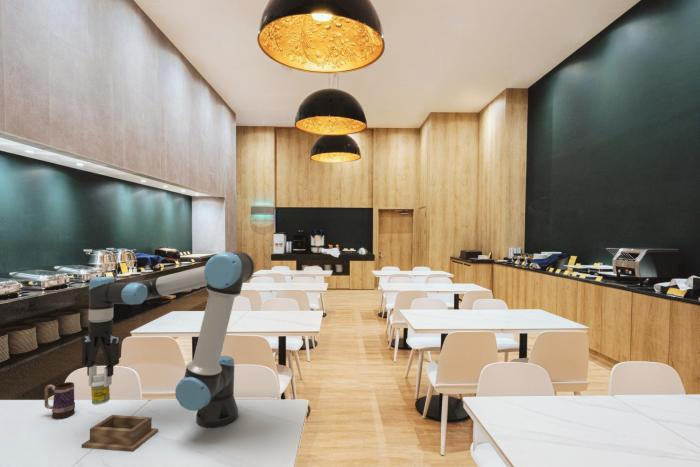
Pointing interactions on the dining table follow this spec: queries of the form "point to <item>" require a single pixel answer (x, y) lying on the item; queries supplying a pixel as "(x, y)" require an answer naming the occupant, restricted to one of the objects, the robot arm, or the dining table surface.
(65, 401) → the mug
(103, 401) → the supplement bottle
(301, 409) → the dining table surface
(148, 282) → the robot arm
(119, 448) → the walnut caddy
